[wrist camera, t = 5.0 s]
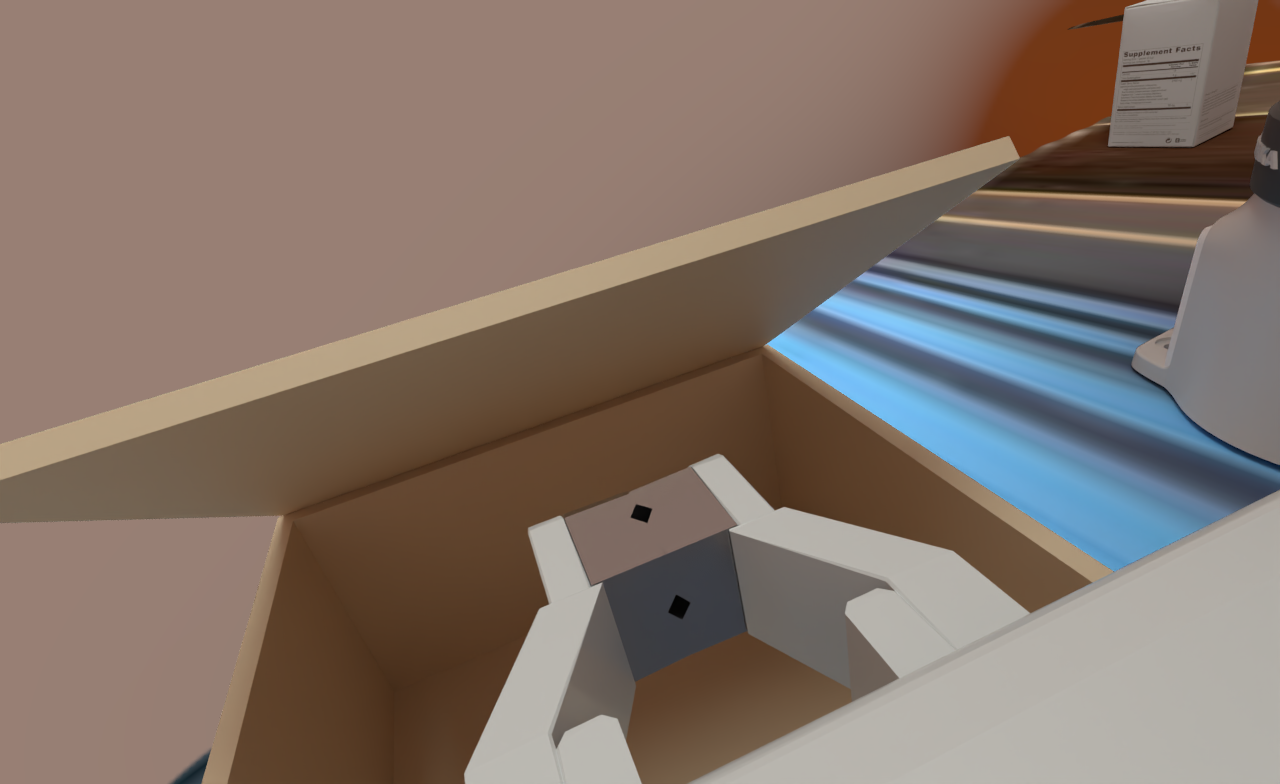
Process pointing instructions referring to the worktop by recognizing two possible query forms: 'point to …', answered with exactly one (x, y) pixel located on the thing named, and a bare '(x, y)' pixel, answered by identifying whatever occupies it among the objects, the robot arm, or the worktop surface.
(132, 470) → the carton flap
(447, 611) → the carton
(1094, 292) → the worktop surface
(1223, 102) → the supplement box
